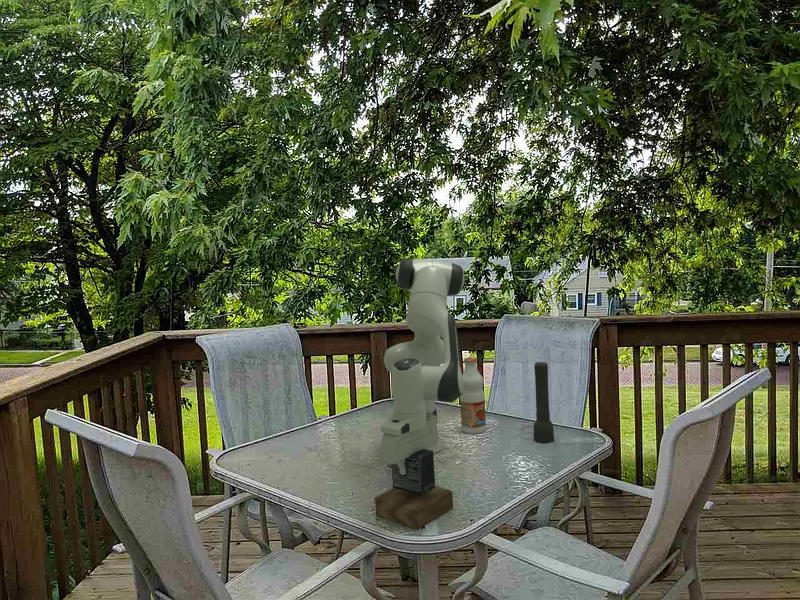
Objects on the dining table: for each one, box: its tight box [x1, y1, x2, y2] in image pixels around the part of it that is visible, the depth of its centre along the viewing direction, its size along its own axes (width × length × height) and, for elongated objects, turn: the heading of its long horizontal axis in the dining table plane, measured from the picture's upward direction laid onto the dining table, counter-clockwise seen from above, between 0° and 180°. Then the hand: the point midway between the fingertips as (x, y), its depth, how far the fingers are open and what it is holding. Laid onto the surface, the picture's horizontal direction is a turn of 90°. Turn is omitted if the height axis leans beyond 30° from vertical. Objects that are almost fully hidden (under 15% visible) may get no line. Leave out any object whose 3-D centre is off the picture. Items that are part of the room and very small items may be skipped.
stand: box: [374, 485, 454, 530], centre depth 169 cm, size 15×15×5 cm
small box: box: [390, 449, 436, 495], centre depth 168 cm, size 11×6×10 cm, turn 53°
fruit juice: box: [459, 357, 487, 435], centre depth 236 cm, size 9×9×28 cm
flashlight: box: [533, 361, 555, 444], centre depth 220 cm, size 7×28×7 cm
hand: (413, 469), depth 168 cm, fingers closed on small box, 6 cm apart
